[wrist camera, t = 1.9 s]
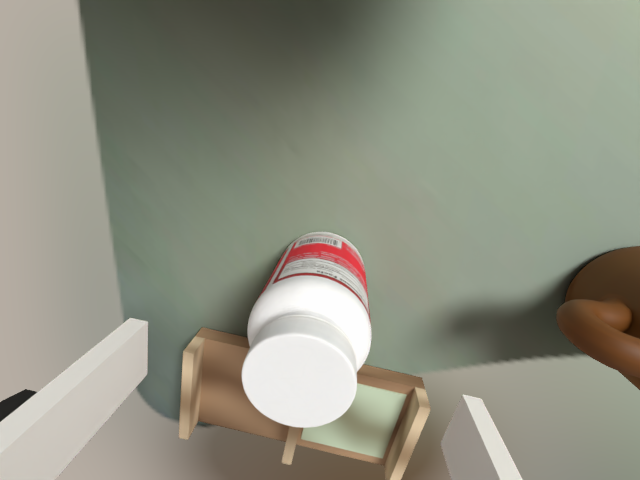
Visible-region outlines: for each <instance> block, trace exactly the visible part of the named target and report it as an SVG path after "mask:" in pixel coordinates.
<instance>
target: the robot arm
mask: <svg viewBox="0 0 640 480" xmlns="http://www.w3.org/2000/svg"><path fill="white" fill-rule="evenodd" d="M147 355H148V322H146V321H142V320H138V319H133V318H129V319H128V320H127V321H126V322H124V323H123V324H122V325H121V326H119V327H118V328H117V329H116V330H114V331H113V332H112V333H111V334H109V335H108V336H107V337H106V338H105V339H103V340H102V341H101V342H99V343H98V344H97V345H96V346H95V347H93V348H92V349H91V350H89V351H88V352H87V353H86V354H84V355H83V356H82V357H81V358H80V359H78V360H77V361H76V362H74V363H73V364H72V365H71V366H70V367H68V368H67V369H66V370H65V371H63V372H62V373H61V374H60V375H58V376H57V377H56V378H55V379H53V380H52V381H51V382H50V383H48V384H47V385H46V386H45V387H44V388H42V389H41V390H40V391H39V392H35V391H31V390H27V389H25V390H24V391H21V392H19V393H17V394H15V395H13V396H11V397H9V398H7V399H5V400H3V401H1V402H0V480H55V479H56V478H57V477H58V476H59V475H60V474H61V473H62V472H63V470H64V469H65V468H66V467H67V466H68V465H69V464H70V462H71V461H72V460H73V459H74V457H76V455H77V454H78V453H79V452H80V451H81V450H82V448H83V447H84V446H85V445H86V444H87V443H88V442H89V441H90V439H91V438H92V437H93V436H94V435H95V433H97V431H98V430H99V429H100V428H101V427H102V426H103V424H104V423H105V422H106V421H107V420H108V419H109V418H110V416H111V415H112V414H113V413H114V412H115V410H116V409H117V408H118V407H119V406H120V405H121V404H122V403H123V402H124V400H125V399H126V398H127V397H128V396H129V395H130V393H131V392H132V391H133V390H134V389H135V388H136V387H137V385H138V384H139V383H140V382H141V381H142V380H143V379H144V377H145V376H146V375H147ZM441 447H442V450H443V453H444V457H445V460H446V463H447V467H448V470H449V474H450V477H451V480H522V478H521V476H520V474H519V472H518V470H517V468H516V466H515V464H514V462H513V460H512V458H511V456H510V454H509V452H508V450H507V448H506V446H505V444H504V442H503V440H502V438H501V436H500V434H499V432H498V430H497V428H496V427H495V424H494V423H493V420H492V419H491V417H490V415H489V413H488V411H487V409H486V407H485V405H484V403H483V401H482V399H481V398H476V397H472V396H468V395H463V394H462V397H461V399H460V401H459V403H458V406H457V408H456V410H455V412H454V414H453V417H452V419H451V421H450V424H449V426H448V428H447V430H446V432H445V434H444V437H443V439H442V441H441Z"/></svg>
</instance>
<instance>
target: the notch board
mask: <svg viewBox="0 0 640 480" xmlns="http://www.w3.org/2000/svg"><path fill="white" fill-rule="evenodd" d="M249 349H250V345H249V341H248V338H247V337H242V336H238V335H234V334H229V333H225V332H221V331H216V330H212V329H208V328H203V327H202V328H201V329H200V331H199V332H198V333H197V334H196V336H195V337H194V338H193V340H192V341H191V342H190V343H189V345H188V346H187V347H186V348H185V350H184V351H183V364H182V384H181V403H180V423H179V438H182V439H186V440H188V439H189V437H190V435H191V434H192V432H193V430H194V428H195V426H196V424H197V422H198V421H200V422H205V423H209V424H213V425H217V426H221V427H225V428H230V429H234V430H238V431H243V432H246V433H251V434H255V435H259V436H263V437H267V438H272V439H276V440H280V441H284V442H286V444H285V449H284V454H283V458H282V463H285V464H289V465H291V463H292V458H293V454H294V450H295V446H296V445H301V446H305V447H309V448H314V449H317V450H321V451H326V452H330V453H334V454H338V455H343V456H347V457H351V458H355V459H359V460H364V461H367V462H372V463H376V464H380V465H384V467H385V478H386V480H401V478H402V475H403V473H404V471H405V468H406V466H407V464H408V461H409V459H410V457H411V454H412V452H413V450H414V447H415V445H416V443H417V440H418V438H419V436H420V433H421V431H422V429H423V426H424V424H425V422H426V419H427V417H428V415H429V412H430V410H431V408H430V405H429V401H428V398H427V394H426V391H425V387H424V384H423V381H422V378H420V377H416V376H412V375H407V374H403V373H399V372H394V371H390V370H386V369H381V368H377V367H373V366H368V365H364V364H363V365H362V366H361V368H360V369H359V370H358V371H357V390H356V395H355V398H354V400H353V402H352V404H351V406H350V407H349V408H348V410H347V411H346V412H345V413H344V414H343V415H342V416H340V417H339V418H337V419H336V420H334V421H332V422H330V423H328V424H325V425H322V426H318V427H309V428H301V427H292V426H288V425H284V424H281V423H278V422H276V421H274V420H272V419H270V418H268V417H266V416H265V415H264V414H262V413H261V412H260V411H259V410H258V409H256V408H255V407H254V405H253V404H252V403H251V402H250V400H249V399H248V397H247V395H246V393H245V391H244V388H243V384H242V367H243V363H244V360H245V358H246V355H247V353H248V351H249Z"/></svg>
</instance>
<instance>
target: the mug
mask: <svg viewBox="0 0 640 480" xmlns="http://www.w3.org/2000/svg"><path fill="white" fill-rule="evenodd" d="M556 320H557V324H558V326H559V329H560V330H561V331H562V333H563V334H564V335H565V336H566V337H567V338H568V340H569V341H570V342H571V343H573V344H574V345H575V346H576V347H577V348H578V349H580V350H581V351H583V352H584V353H586V354H587V355H589V356H590V357H591V358H593V359H595V360H597V361H599V362H601V363H602V364H605V365H606V366H608V367H611V368H613V369H616V370H618V371H619V372H620V373H621V374H622V375H623V376H624V377H626V378H627V379H628V380H629V381H630V382H631V383H632V384H634V385H635V386H636V387H637V388H638V389H639V390H640V246H635V247H628V248H622V249H618V250H614V251H611V252H609V253H606V254H604V255H602V256H600V257H598V258H596V259H595V260H593V261H591V262H590V263H589V264H587V265H586V266H585V267H584V268H583V269H582V270H581V271H580V272H579V273H578V274H577V275H576V276H575V278H574V279H573V280H572V282H571V284H570V286H569V288H568V290H567V293H566V297H565V303H564V304H562V305H561V306H560V307H559V308H558V310H557V314H556Z"/></svg>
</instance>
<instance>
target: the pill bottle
mask: <svg viewBox="0 0 640 480" xmlns="http://www.w3.org/2000/svg"><path fill="white" fill-rule="evenodd" d="M247 332H248V341H249V345H250V349H249V351H248V353H247V355H246V358H245V360H244V363H243V367H242V384H243V388H244V391H245V393H246V395H247V397H248V399H249V400H250V402H251V403H252V404H253V405H254V407H255V408H256V409H258V410H259V411H260V412H261V413H262V414H264V415H265V416H266V417H268V418H270V419H272V420H274V421H276V422H278V423H281V424H284V425H288V426H292V427H301V428H309V427H318V426H322V425H325V424H328V423H330V422H332V421H334V420H336V419H337V418H339V417H340V416H342V415H343V414H344V413H345V412H346V411H347V410H348V408H349V407H350V406H351V404H352V402H353V400H354V398H355V395H356V390H357V371H358V370H359V369H360V368H361V366H362V365H363V364H364V362H365V360H366V358H367V356H368V353H369V350H370V345H371V321H370V313H369V304H368V294H367V284H366V276H365V268H364V264H363V260H362V258H361V256H360V254H359V252H358V250H357V249H356V248H355V247H354V246H353V245H352V244H351V243H350V242H349V241H348V240H347V239H345V238H343V237H341V236H339V235H337V234H334V233H330V232H313V233H308V234H305V235H303V236H301V237H299V238H298V239H296V240H295V241H293V242H292V243H291V244H290V245H289V246H288V248H287V249H286V250H285V252H284V253H283V255H282V257H281V259H280V260H279V262H278V264H277V266H276V268H275V269H274V271H273V273H272V275H271V276H270V278H269V280H268V282H267V283H266V285H265V287H264V288H263V290H262V292H261V294H260V295H259V297H258V299H257V301H256V302H255V304H254V307H253V309H252V311H251V314H250V317H249V321H248V329H247Z"/></svg>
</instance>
